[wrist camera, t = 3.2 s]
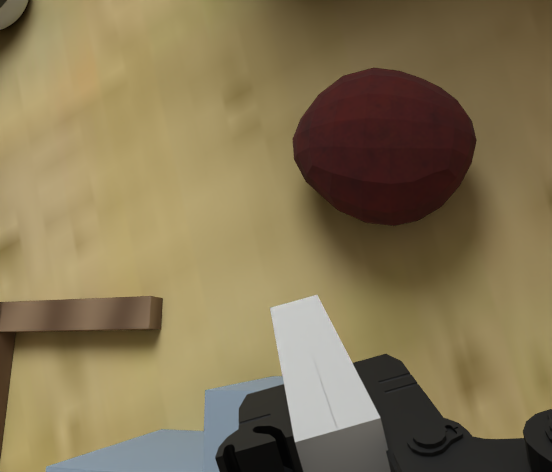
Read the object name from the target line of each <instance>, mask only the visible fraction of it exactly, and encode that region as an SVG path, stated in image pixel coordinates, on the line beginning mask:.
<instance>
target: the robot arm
mask: <svg viewBox="0 0 552 472" xmlns="http://www.w3.org/2000/svg"><path fill="white" fill-rule="evenodd" d="M270 310H271V316H272V321H273V327H274V332H275V338H276V343H277V348H278V354H279V359H280V365H281V370H282V376H283V381H284V384H282V385H279V386H275V387H271V388H268V389H264V390H261V391H257V392H254V393H250V394H247V395H246V397H245V399H244V400H243V402H242V404H241V405H240V407H239V429H238V430H237V431H235V432H234V433H232V434H231V435H229V436H228V437H227V438H226V439H225V440H224V441H223V443H222V444H221V445H220V446H219V447H218V450H217V453H216V456H215V459H216V462H217V465H218V469H219V472H552V409H550V410H547V411H543V412H540V413H537V414H535V415H534V416H533V417H531V418H530V419H529V420H528V421H526V424H525V427H524V430H523V434H524V438H518V439H482V438H477V437H472V435H471V434H470V433H469V432H468V431H467V430H466V429H465V428H464V427H463V426H461V425H460V424H459V423H457V422H454V421H452V420H449V419H446V418H443V417H442V415H441V414H440V412H439V411H438V410H437V408H436V407H435V406H434V404H433V403H432V402H431V400H430V399H429V398H428V396H427V395H426V394H425V392H424V391H423V390H422V388H421V387H420V386H419V384H417V382H416V380H415V379H414V378H413V376H412V375H410V372H409V371H408V370H407V368H406V367H405V366H404V364H403V363H402V361H400V360H398V359H396V358H394V357H392V356H389V355H387V354H383V355H380V356H376V357H373V358H369V359H366V360H362V361H358V362H355V363H352V361H351V359H350V357H349V356H348V354H347V352H346V350H345V348H344V346H343V344H342V342H341V340H340V338H339V336H338V334H337V332H336V330H335V328H334V326H333V324H332V322H331V321H330V319H329V317H328V315H327V313H326V311H325V309H324V307H323V305H322V303H321V301H320V299H319V297H318V295H315V296H311V297H307V298H304V299H300V300H296V301H293V302H289V303H286V304H282V305H278V306H275V307H271V308H270Z"/></svg>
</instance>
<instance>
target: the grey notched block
mask: <svg viewBox="0 0 552 472" xmlns="http://www.w3.org/2000/svg"><path fill="white" fill-rule="evenodd" d="M282 384H284V381H283V376H272V377H267V378H262V379H257V380H253V381H248V382H243V383H238V384H233V385H228V386H223V387H218V388H213V389H208V390H205V416H204V431H188V430H166V429H161V430H158V431H155V432H152V433H149V434H146V435H143V436H139V437H136V438H133V439H130V440H127V441H124V442H121V443H118V444H115V445H112V446H109V447H105V448H102V449H99V450H96V451H93V452H90V453H87V454H84V455H81V456H78V457H75V458H71V459H68V460H65V461H62V462H59V463H56V464H53V465H50V466H47V467H46V472H219V469H218V465H217V462H216V459H215V456H216V453H217V450H218V447H219V446H220V445H221V444H222V443H223V441H224V440H225V439H226V438H227V437H228V436H229V435H231V434H232V433H234V432H235V431H237V430H238V429H239V407H240V405H241V404H242V402H243V400H244V399H245V397H246V395H247V394H250V393H254V392H257V391H261V390H264V389H268V388H271V387H275V386H279V385H282Z"/></svg>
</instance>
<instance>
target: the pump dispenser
mask: <svg viewBox="0 0 552 472" xmlns="http://www.w3.org/2000/svg"><path fill="white" fill-rule="evenodd" d="M27 3H28V0H0V30H1V29H4V28H6V27H8V26H10V25H11V24H13V23H14V22H15V21H16V20H17V19H18V18H19V17H20V16H21V15H22V13H23V12H24V10H25V8H26V6H27Z"/></svg>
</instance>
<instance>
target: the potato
mask: <svg viewBox="0 0 552 472" xmlns="http://www.w3.org/2000/svg"><path fill="white" fill-rule="evenodd" d="M475 145H476V136H475V132H474V128H473V124H472V121H471V119H470V118H469V116H468V115H467V114H466V112H465V111H464V109H463V108H462V107H461V105H460V104H459V102H458V101H457V100H456V99H455V98H454V97H452V96H451V95H450V94H448V93H447V92H446V91H444V90H443V89H442V88H440V87H438V86H436V85H434V84H432V83H430V82H428V81H426V80H424V79H422V78H419V77H416V76H413V75H410V74H407V73H404V72H401V71H396V70H388V69H379V68H371V69H367V70H364V71H360V72H356V73H352V74H348V75H345V76H342V77H341V78H340V79H338V80H337V81H336V82H335V83H333V84H332V85H331V86H329V87H328V88H327V89H325V90H324V91H323V92H322V93H320V94H319V95H318V96H317V98H316V99H315V100H314V102H313V103H312V104H311V106H310V107H309V108H308V110H307V111H306V112H305V114H304V115H303V116H302V118H301V119H300V122H299V124H298V127H297V129H296V132H295V134H294V137H293V150H294V160H295V162H296V164H297V166H298V167H299V169H300V171H301V173H302V175H303V177H304V179H305V181H306V182H307V183H308V184H309V185H310V186H311V187H313V188H314V189H315V190H316V191H317V192H318V193H319V194H320V195H321V196H323V197H324V198H325V199H326V200H327V201H328V202H329V203H330V204H332V205H333V206H334V207H335V208H336V209H337V210H339V211H341V212H344V213H346V214H348V215H350V216H353V217H355V218H357V219H359V220H362V221H364V222H366V223H373V224H383V225H392V226H395V225H400V224H405V223H409V222H414V221H418V220H420V219H421V218H423V217H425V216H426V215H428V214H430V213H431V212H433V211H435V210H437V209H438V208H440V207H441V206H442V205H443V204H444V203H445V202H446V201H447V200H448V198H449V197H450V196H451V195H452V194H453V193H454V192H455V190H456V189H457V188H458V187H459V186H460V184H461V182H462V180H463V178H464V176H465V174H466V173H467V171H468V169H469V167H470V165H471V163H472V158H473V154H474V149H475Z"/></svg>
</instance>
